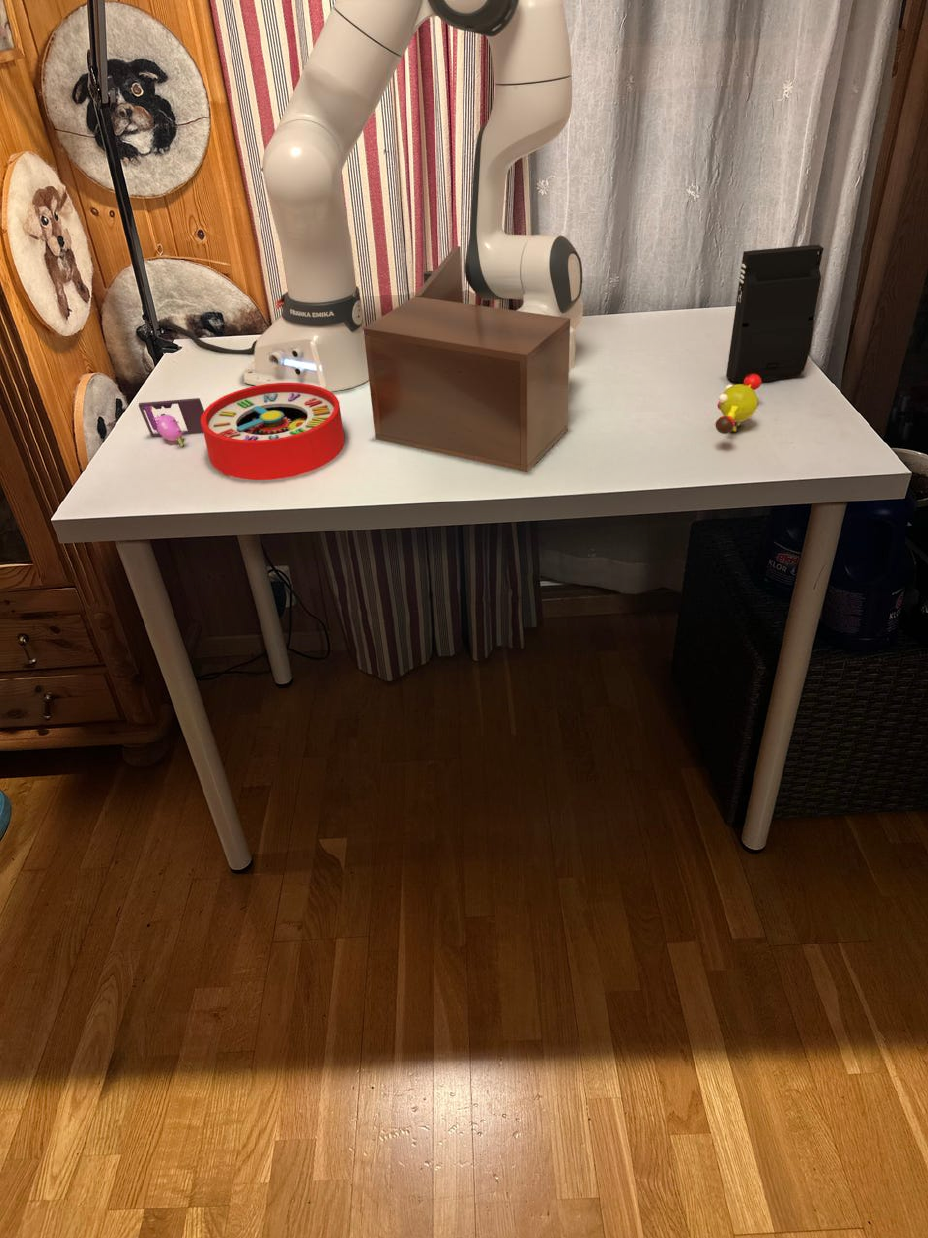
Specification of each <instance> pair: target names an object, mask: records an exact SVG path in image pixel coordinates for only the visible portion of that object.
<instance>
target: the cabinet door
mask: <svg viewBox="0 0 928 1238" xmlns="http://www.w3.org/2000/svg"><path fill="white" fill-rule="evenodd" d="M422 272H423V273H422V275H423V276H422V277H423V284H422V286H421V287H420V288H419V290H417V292H416V293H415V294H414V297H415V296H416V297H423V298H430V299H437V300H444V301H451V302H458V303H464V296H463V295H464V294H463V273H462V272H463V270H462V252H461V246H460V245H454V246H453V247H452V249H451V250H450V251H449V253H448V254H447V255H446V257H444V258H443V260H442V261H441V263H440V264H439V265H438V266H437V268H436V269H435V270H425V271H422Z"/></svg>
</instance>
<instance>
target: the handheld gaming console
mask: <svg viewBox="0 0 928 1238" xmlns="http://www.w3.org/2000/svg"><path fill="white" fill-rule="evenodd" d="M823 252H824V247H823V246H821V245H820V244H809V245H799V246H797V245H795V246H787V247H774V248H763V249H754V250H753V249H752V250H745V251H743V253H742V260H741V267H740V273H739V280H738V288H737V296H736V302H735V309H734V316H733V323H732V331H731V337H730V345H729V351H728V358H727V359H728V360H727V366H726V373H725V377H726V378H727V379H728V380H729V381H731V382H734V383H739V384H744V380H745V377H746V376H747V375H749V374H757V375H759V376H760V377H761V380H762V382H761V383H771V382H775V381H778V380H779V381H780V380H788V379H791V378H794V377H797V376H800V375H801V374H802V373H803V372H804V371H805V369H806V365H807V363H808V360H809V355H810V352H811V347H812V342H813V334H814V324H815V320H814V318H815V317H816V315H815V313H816V308H817V303H818V299H819V298H818V296H819V292H820V287H821V281H822V274H821V270H820V267H821V263H822V257H823Z"/></svg>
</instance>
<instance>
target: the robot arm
mask: <svg viewBox="0 0 928 1238" xmlns="http://www.w3.org/2000/svg"><path fill="white" fill-rule="evenodd" d="M433 17H438V18H439V19H440V20H441V21H442V22H443V23H444V24H446V25H448V26H450V27H452V28H454V29H457V30H459V31H464V32H468V33H474V34H477V35H483V36H485V37H486V39H487V41H488V45H489V46H490V52H491V57H492V68H493V69H492V70H493V83H494V84H493V85H494V95H493V104H492V108H491V112H490V115H489V118H488V121H485V123H484V124H482V126H481V127H480V129H479V131H478V133H477V138H476V142H475V150H474V161H473V171H472V187H471V203H470V204H471V205H470V206H471V208H470V226H469V235H468V242H467V243H468V244H467V249H466V254H465V260H464V277H465V280H466V282H467V284H468V285H469V287H470V288H471V290H472V291H473V292H474V293H475V294H476V296H478V297H479V299H481V300H483V301H500V300H501V301H502V300H508V299H509V300H522V301H523V304H522V306H520V308H518V309H516V311H521V312H529V313H536V314H543V315H550V316H557V317H564V318H570V348H569V374H570V373H571V371H572V369H573V368H574V366H575V358H576V330H577V328H578V327H579V325H580V323H581V321H582V318H583V314H584V302H583V298H582V295H581V294H582V289H583V288H582V287H583V266H582V265H583V264H582V260H581V257H580V255H579V253H578V251H577V250H576V248H575V246H574V245H573V243H572V242H571V241H570V240H569V239H568V238H567V237H565V236H564V235H551V234H534V235H532V234H531V235H529V234H528V235H526V234H507V233H506V232H505V231H504V229H503V214H504V204H505V203H504V200H505V187H506V180H507V176H508V173H509V170H510V169H511V168H512V167H513V165H514V164H515V163H516V162H517V161H518V160H520V159H522V158H524V157H526V156H528V155H529V154H532V153H534V152H536V151H538V150H540V149H542V148H543V147H545V146H547V145H548V144H550V143H551V142H552V141H554V140H555V139H556V138H557V137H559V135H560V134H561V133H562V132H563V130H564V129H565V127H566V125H567V123H568V122H569V119H570V117H571V112H572V108H573V107H572V105H573V75H572V74H573V72H572V69H573V68H572V56H571V45H570V37H569V31H568V30H569V29H568V23H567V18H566V13H565V8H564V4H563V1H562V0H335V1H334V2H333V6H332V7H331V10H330V12H329V14H328V16H327V18H326V20H325V22H324V24H323V26H322V29H321V30H320V33H319V35H318V37H317V40H316V41H315V44H314V46H313V48H312V51H311V52H310V55H309V56H308V59H307V61H306V63H305V65H304V67H303V70H302V72H301V75H300V77H299V79H298V81H297V83H296V85H295V87H294V90H293V92H292V95H291V96H290V98H289V101H288V102H287V105H286V107H285V109H284V112H283V114H282V116H281V118H280V120H279V122H278V124H277V127H276V128H275V130H274V132H273V134H272V137H271V138H270V140H269V142H268V144H267V146H266V147H265V149H264V152H263V156H262V175H263V179H264V183H265V189H266V193H267V194H266V195H267V198H268V203H269V206H270V210H271V211H270V212H271V215H272V219H273V223H274V226H275V230H276V234H277V237H278V242H279V247H280V251H281V257H282V258H281V259H282V264H283V265H282V266H283V270H284V271H283V272H284V276H285V282H286V283H285V284H286V288H287V289H286V290H287V291H286V292H284V293H283V294H282V295H280V297H279V299H278V300H276V301H275V302H274V304H275V309H276V310H278V309H280V308H281V310H282V311H281V315H280V316H279V317H278V318H277V319H276V320H275V321H274V322H273V323H272V324H271V325H270V326H269V327H268V328H267V329H266V330H265V331H263V333H262V334H260V336H259V337H258V338H257V339H256V340H254V341H253V342H252V344H251V347H249V348H245V349H231V348H226V347H222V346H218V345H215V344H211V343H207V342H206V341H203V340H202V339H201V338H199V337H198V336H197V334H195V333H194V332H193V331H191V330H189V329H186V328H184V327H182V326H180V325H178V324H175V323H173V322H170V321H165V320H164V321H160V322H159V323H160V326H158V327H159V330H158V331H160V330H161V329H162V328H165V327H167V328H171V329H173V330H175V331H177V332H179V333H181V334H183V335H185V336H187V337H190V338H191V339H192V340H193V341H194V342H195V343H196V344H197V345H198V346H199V347H202V348H204V349H208V350H211V351H215V352H218V353H222V354H231V355H252V354H254V358H253V359H254V361H253V362H252V363H250V364H249V365H248V366H247V368H246V369H245V371H244V372H243V381H244V384H247V385H252V386H258V385H264V384H273V383H302V384H309V385H314V386H318V387H321V388H324V389H326V390H328V391H330V392H331V393H333V392H338V391H345V390H348V389H352V388H355V387H358V386H360V385H363V384H365V383H367V382H369V375H368V366H367V357H366V348H365V339H364V330H363V328H364V327H363V322H364V321H363V318H364V317H363V306H362V300H361V293H360V288H359V287H358V286H357V280H356V273H355V264H354V254H353V245H352V238H351V237H352V236H351V233H350V228H349V222H348V217H347V215H348V214H347V210H346V203H345V197H344V190H343V181H342V172H343V169H344V167H345V164H346V163H347V161H348V158H349V157H350V155H351V153H352V151H353V150H354V147H355V146H356V144H357V142H358V140H359V138H360V137H361V135H362V133H363V132H364V130H365V128H366V126H367V125H368V123H369V121H370V119H371V118H372V116H373V114H374V113H375V111H376V109H377V107H378V105H379V103H380V102H381V100H382V98H383V95H384V94H385V91H386V90H387V89H388V86H389V84H390V82H391V80H392V78H393V76H394V75H395V73H396V70H397V68H398V66H399V64H400V62H401V61H402V59H403V57H404V55H405V53H406V52H407V49H408V46H409V45H410V43H411V42H412V39H413V37H414V35H415V34H416V32H417V31H418V29H419V28H420V26H421V25H422V24H423V23H424V22H425V21H427V20H428V19H430V18H433Z"/></svg>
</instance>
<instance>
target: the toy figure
mask: <svg viewBox="0 0 928 1238" xmlns="http://www.w3.org/2000/svg"><path fill="white" fill-rule="evenodd" d="M762 383H763V382H762V380H761V377H760V376H759V375H757V374H749V375H747V376H746V377H745V380H744V383H738V384H737V383H736V384H726V386H725V388H724V391H723V393H721V394H719V396H718V402H717V406H716V407H717V409H718V410H719V411H721V414H722V415H723V416H720V417H719V418H718V419H717V420H716V422H715V429H716V430H717V432H718V433H720V434H722V435H723V434H724V435H727V434H730V433H735V434H736V433H737V429H738V428H740V426H741V422H744V421H746V420H748V419H750V418H751V417H752V416H753V415H754V413H755V412H756V410H757V409H758V403H759V400H758V395H757V393H756V390H757V389H759V388H760V386H761V385H762Z"/></svg>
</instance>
